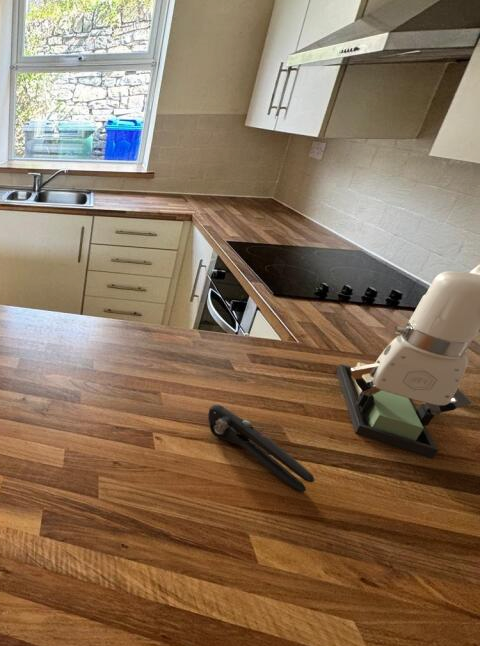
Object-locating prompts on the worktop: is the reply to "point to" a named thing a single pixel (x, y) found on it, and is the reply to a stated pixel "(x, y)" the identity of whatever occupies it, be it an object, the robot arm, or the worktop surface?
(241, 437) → the can opener
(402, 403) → the pad
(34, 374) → the worktop surface
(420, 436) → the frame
